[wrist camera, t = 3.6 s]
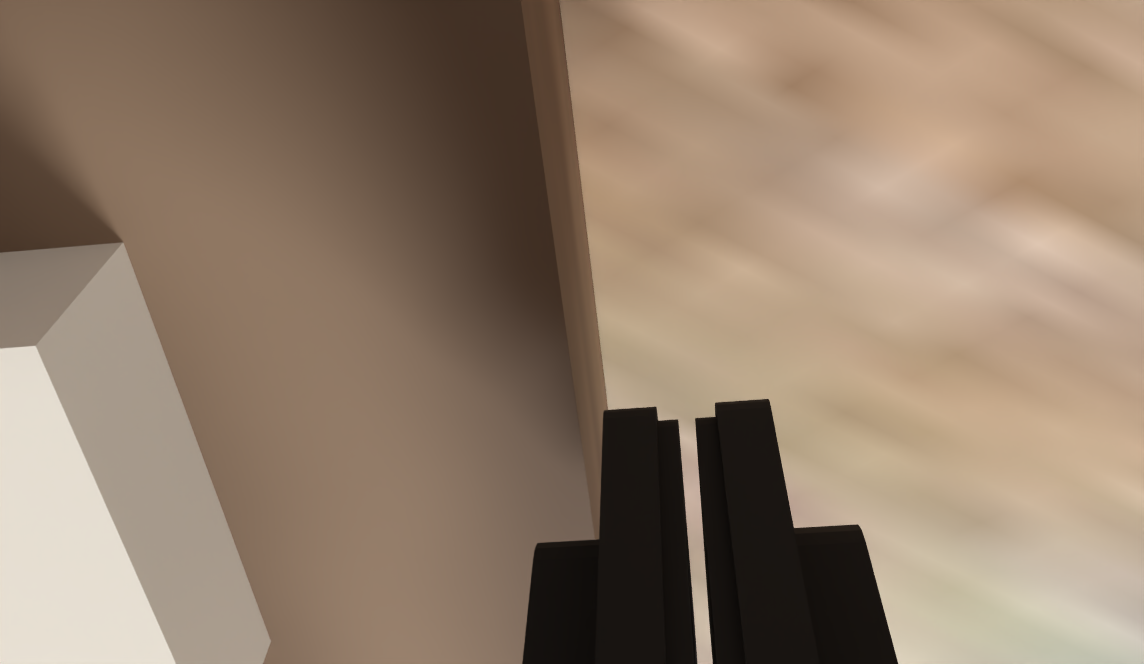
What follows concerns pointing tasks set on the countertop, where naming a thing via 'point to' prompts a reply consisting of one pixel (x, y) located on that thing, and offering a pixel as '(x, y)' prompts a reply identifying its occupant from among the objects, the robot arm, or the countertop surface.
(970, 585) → the countertop surface
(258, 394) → the brown flat block
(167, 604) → the tile
